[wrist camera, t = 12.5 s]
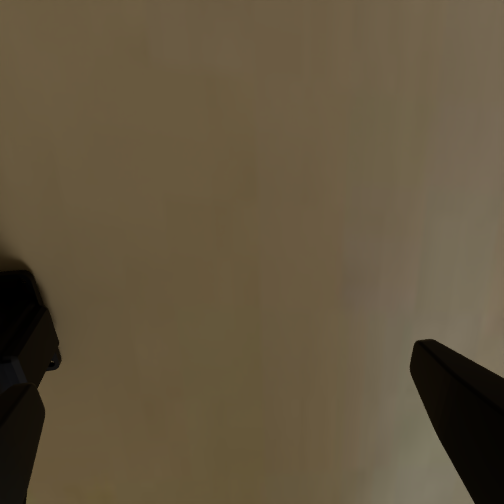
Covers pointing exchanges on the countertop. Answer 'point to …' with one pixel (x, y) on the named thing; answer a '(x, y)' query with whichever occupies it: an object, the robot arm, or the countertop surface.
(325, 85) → the countertop surface
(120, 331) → the countertop surface
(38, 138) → the countertop surface
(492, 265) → the countertop surface
